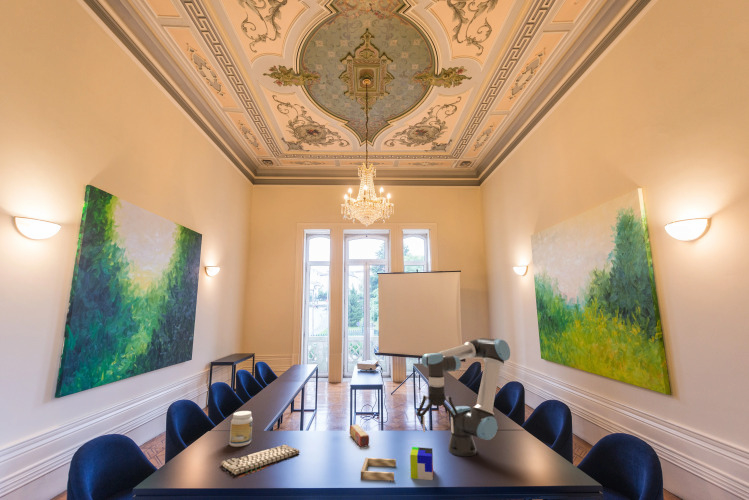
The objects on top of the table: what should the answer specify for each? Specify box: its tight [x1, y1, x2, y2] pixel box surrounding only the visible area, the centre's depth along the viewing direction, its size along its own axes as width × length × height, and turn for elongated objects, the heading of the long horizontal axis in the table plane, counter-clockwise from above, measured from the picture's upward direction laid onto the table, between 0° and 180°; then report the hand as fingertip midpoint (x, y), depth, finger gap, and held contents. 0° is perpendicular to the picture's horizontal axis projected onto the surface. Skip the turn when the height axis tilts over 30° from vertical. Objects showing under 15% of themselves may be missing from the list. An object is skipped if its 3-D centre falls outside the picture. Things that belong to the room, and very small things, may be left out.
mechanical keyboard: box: [219, 444, 300, 478], centre depth 175 cm, size 38×19×3 cm, turn 138°
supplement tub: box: [229, 410, 253, 448], centre depth 200 cm, size 12×12×17 cm
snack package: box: [349, 423, 370, 448], centre depth 204 cm, size 21×7×7 cm, turn 20°
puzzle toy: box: [409, 446, 434, 481], centre depth 160 cm, size 10×10×10 cm
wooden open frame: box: [360, 457, 397, 482], centre depth 162 cm, size 16×16×3 cm
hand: (438, 431), depth 162 cm, fingers open, 13 cm apart
